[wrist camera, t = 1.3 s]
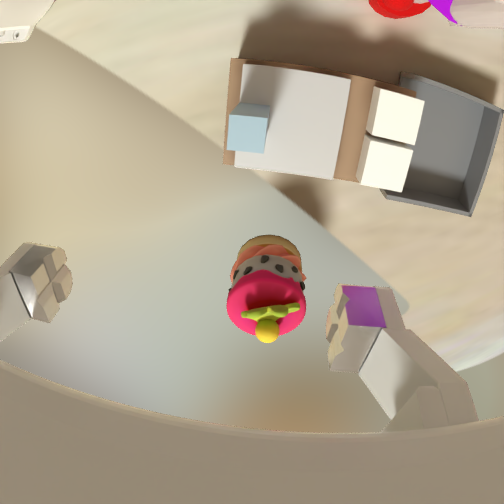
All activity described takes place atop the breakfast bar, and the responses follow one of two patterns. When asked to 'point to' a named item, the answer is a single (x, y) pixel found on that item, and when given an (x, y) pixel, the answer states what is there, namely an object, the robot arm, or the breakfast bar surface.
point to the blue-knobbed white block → (288, 121)
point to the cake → (267, 288)
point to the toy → (447, 11)
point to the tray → (448, 147)
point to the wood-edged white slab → (353, 117)
